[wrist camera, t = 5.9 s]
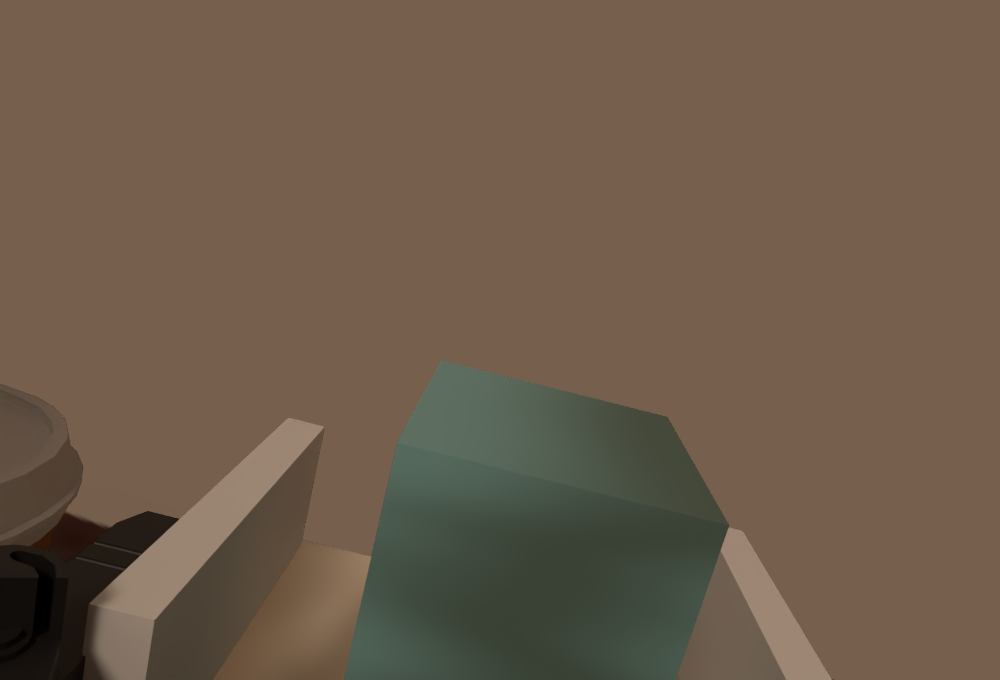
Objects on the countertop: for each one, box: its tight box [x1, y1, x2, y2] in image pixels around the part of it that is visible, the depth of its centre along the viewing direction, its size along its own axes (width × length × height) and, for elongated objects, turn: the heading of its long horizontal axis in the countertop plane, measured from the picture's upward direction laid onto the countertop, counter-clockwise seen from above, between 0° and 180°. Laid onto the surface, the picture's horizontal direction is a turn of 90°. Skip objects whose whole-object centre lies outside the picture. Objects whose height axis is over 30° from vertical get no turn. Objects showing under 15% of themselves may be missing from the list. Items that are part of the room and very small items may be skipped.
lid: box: [184, 361, 729, 680], centre depth 15 cm, size 19×15×11 cm
